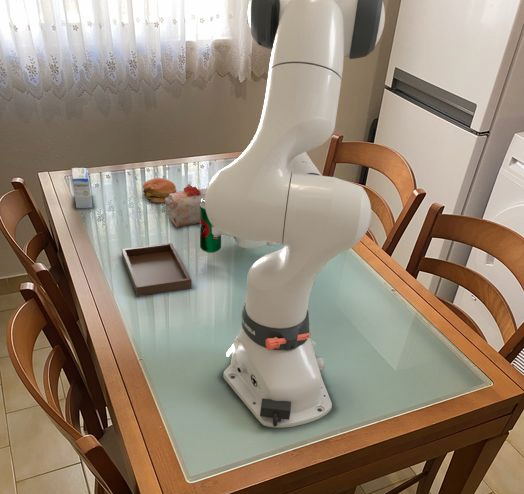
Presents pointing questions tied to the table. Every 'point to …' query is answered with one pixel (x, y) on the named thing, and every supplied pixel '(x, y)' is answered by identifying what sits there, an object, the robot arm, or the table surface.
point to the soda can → (207, 232)
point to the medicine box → (81, 188)
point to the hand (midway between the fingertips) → (207, 223)
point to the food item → (185, 206)
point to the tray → (155, 269)
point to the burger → (158, 189)
